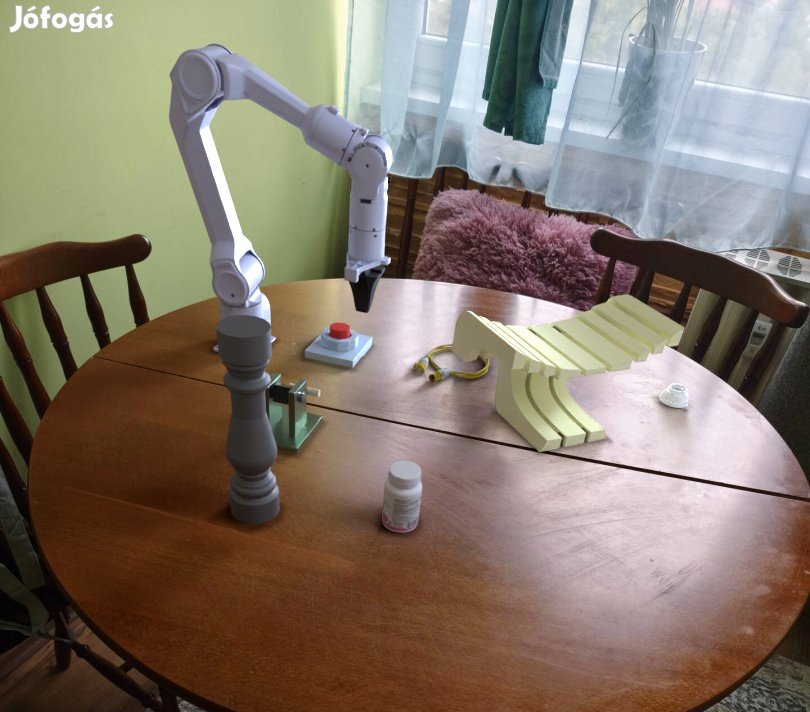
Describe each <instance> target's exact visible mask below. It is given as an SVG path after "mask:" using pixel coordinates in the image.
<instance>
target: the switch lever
mask: <svg viewBox="0 0 810 712" xmlns="http://www.w3.org/2000/svg"><path fill="white" fill-rule="evenodd" d="M295 384H296V383H291V382H289V383H288V384H287V383H281V384H277V385H275V389H274V396H273V402H278V403H281V405H287V406H288V405H289V402H288V392H289V391H290V389H291V388H292V387H293V386H294V385H295ZM306 396H310V397H314V398H320V396H321V389H318V388H314V387H310V386H306Z"/></svg>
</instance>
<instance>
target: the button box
mask: <svg viewBox="0 0 810 712" xmlns="http://www.w3.org/2000/svg"><path fill="white" fill-rule="evenodd" d="M372 346H373V336H371V335H367V334H366V335H365V334H361V333H358V331H356V330H354V329H353V328H351V327H350V337H349V338H347V339H335V338H332V337H330V326H329V327H328V326H327V327H325V328H324V329H323V330H322V331H321V332H320V334H319V335H318V336H316V338H315V339H314V340H313V341H312V342H311V344H309V346H308V347H307V348H306V349H305V350H304V358H306V359H310V360H315V361H318V362H324V363H328V364H333V365H337V366H342V367H347V368H351V369H353V368H354V367H355V366H356V364H357V363H358V362H359V360H361V358H362V357H364V356H365V355H366V354H367V352H368V351H369V350H370V349H371V347H372Z"/></svg>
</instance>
